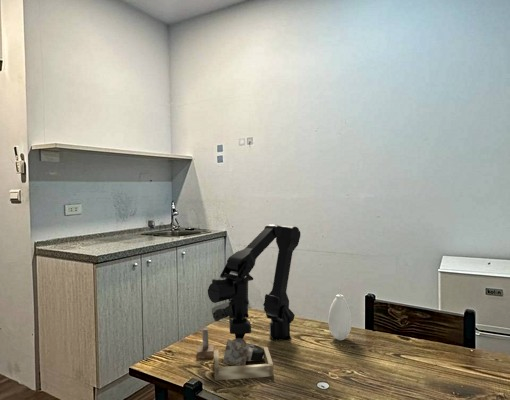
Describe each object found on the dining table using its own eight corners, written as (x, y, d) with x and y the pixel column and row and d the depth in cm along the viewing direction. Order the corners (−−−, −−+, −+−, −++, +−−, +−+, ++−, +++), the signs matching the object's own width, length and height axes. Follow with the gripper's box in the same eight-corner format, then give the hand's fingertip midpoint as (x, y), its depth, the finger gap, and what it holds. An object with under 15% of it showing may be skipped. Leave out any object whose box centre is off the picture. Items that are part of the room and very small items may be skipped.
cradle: (267, 356, 113) (267, 346, 113) (273, 376, 101) (273, 365, 101) (214, 359, 111) (214, 350, 111) (214, 380, 99) (214, 369, 99)
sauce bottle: (354, 337, 126) (354, 286, 126) (347, 345, 119) (347, 292, 119) (333, 333, 130) (332, 283, 130) (325, 340, 124) (324, 288, 123)
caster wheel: (262, 361, 114) (259, 372, 105) (227, 352, 116) (222, 363, 106) (266, 340, 115) (264, 349, 105) (232, 331, 116) (227, 340, 106)
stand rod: (213, 350, 117) (213, 326, 117) (213, 357, 112) (213, 332, 112) (198, 351, 117) (197, 326, 117) (197, 358, 112) (196, 333, 112)
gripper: (213, 288, 122) (213, 333, 123) (212, 306, 103) (212, 359, 104) (246, 287, 123) (245, 332, 124) (251, 305, 105) (250, 358, 105)
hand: (238, 344), depth 114 cm, fingers closed
